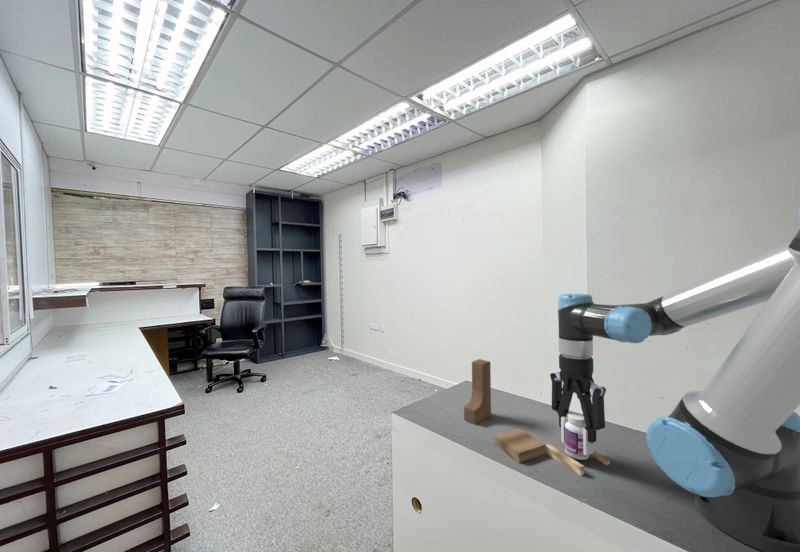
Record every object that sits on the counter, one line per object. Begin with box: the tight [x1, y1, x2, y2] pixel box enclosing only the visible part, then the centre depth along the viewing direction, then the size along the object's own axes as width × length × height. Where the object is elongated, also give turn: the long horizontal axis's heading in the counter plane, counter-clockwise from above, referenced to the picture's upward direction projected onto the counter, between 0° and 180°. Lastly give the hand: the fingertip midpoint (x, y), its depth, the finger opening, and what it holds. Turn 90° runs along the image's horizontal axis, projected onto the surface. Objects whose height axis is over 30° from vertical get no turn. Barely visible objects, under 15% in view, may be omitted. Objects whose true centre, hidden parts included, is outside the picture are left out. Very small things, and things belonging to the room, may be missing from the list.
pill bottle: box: [564, 412, 590, 461], centre depth 77 cm, size 5×5×10 cm
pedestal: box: [493, 428, 547, 464], centre depth 82 cm, size 9×9×2 cm
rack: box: [545, 443, 611, 476], centre depth 77 cm, size 10×10×2 cm
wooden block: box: [463, 358, 492, 425], centre depth 99 cm, size 9×4×18 cm, turn 131°
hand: (577, 447), depth 77 cm, fingers closed on pill bottle, 5 cm apart
